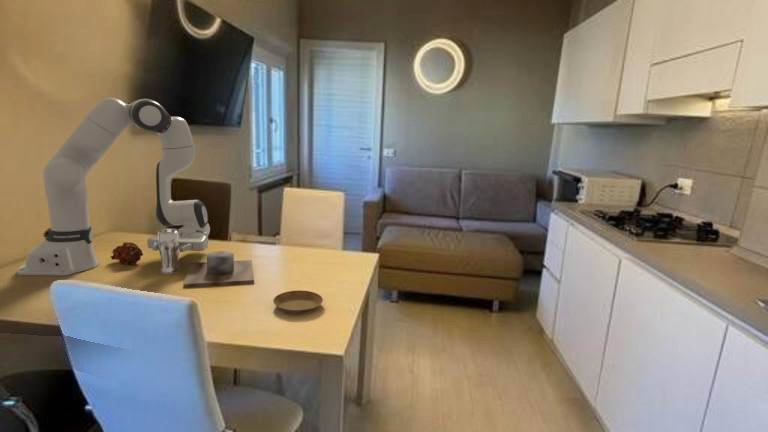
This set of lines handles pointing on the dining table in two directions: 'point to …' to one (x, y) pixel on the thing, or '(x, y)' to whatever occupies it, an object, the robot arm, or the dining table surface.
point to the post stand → (219, 271)
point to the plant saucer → (298, 302)
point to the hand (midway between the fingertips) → (167, 249)
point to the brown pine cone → (127, 253)
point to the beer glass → (169, 250)
